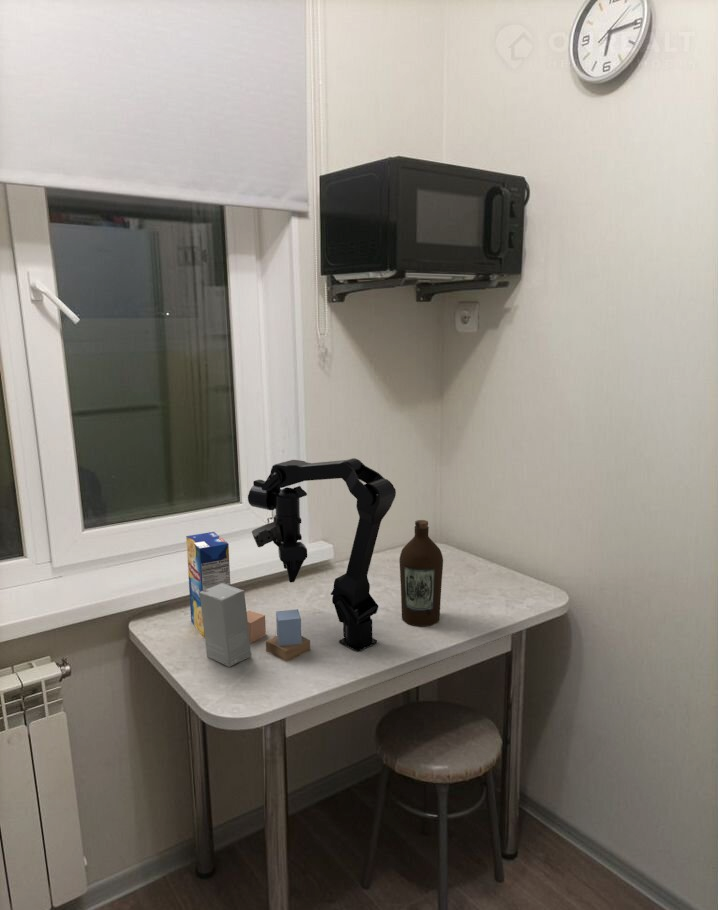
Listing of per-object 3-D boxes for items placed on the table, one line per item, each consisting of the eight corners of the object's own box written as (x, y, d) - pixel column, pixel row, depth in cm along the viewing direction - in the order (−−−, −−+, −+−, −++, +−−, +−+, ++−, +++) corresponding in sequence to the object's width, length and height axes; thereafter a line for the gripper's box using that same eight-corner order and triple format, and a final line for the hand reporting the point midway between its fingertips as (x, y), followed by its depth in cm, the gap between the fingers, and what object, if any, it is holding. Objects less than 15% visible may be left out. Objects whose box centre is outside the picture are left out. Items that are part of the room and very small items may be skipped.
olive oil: (402, 608, 176) (402, 514, 171) (443, 611, 174) (445, 516, 169) (396, 626, 165) (396, 526, 161) (440, 629, 163) (441, 529, 158)
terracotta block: (265, 635, 161) (265, 615, 161) (251, 643, 157) (250, 623, 156) (249, 630, 164) (248, 610, 163) (235, 638, 160) (234, 618, 159)
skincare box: (252, 657, 150) (249, 589, 147) (225, 669, 145) (222, 599, 142) (228, 645, 156) (225, 580, 153) (202, 657, 151) (198, 589, 148)
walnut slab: (310, 652, 154) (309, 639, 153) (286, 663, 149) (285, 650, 148) (290, 642, 158) (289, 630, 158) (266, 652, 153) (265, 640, 153)
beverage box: (204, 638, 160) (199, 548, 155) (191, 621, 169) (186, 535, 165) (232, 631, 163) (228, 543, 159) (217, 615, 172) (213, 531, 168)
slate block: (276, 636, 155) (276, 611, 154) (298, 633, 156) (298, 609, 155) (279, 646, 150) (278, 620, 149) (301, 643, 151) (301, 618, 150)
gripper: (250, 505, 170) (252, 564, 173) (257, 527, 152) (259, 593, 155) (294, 502, 172) (295, 561, 175) (307, 523, 155) (308, 588, 158)
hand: (289, 575), depth 166 cm, fingers open, 9 cm apart
